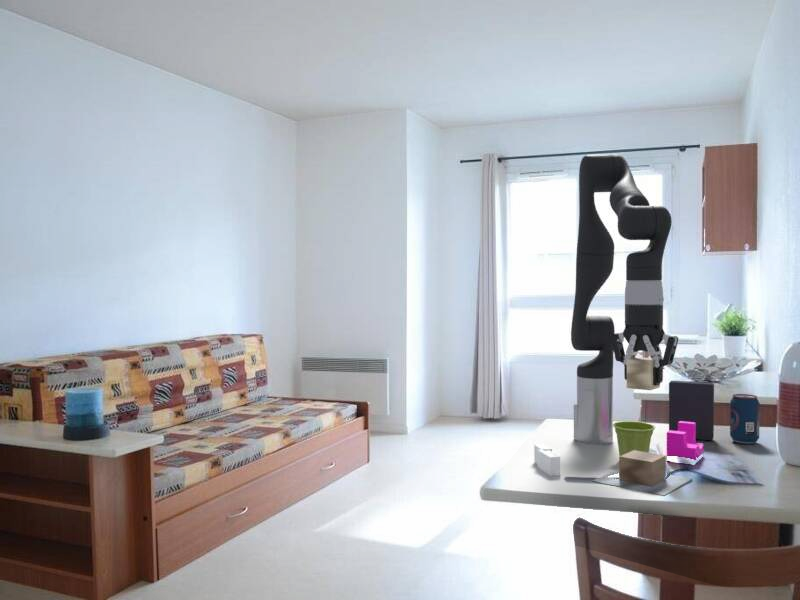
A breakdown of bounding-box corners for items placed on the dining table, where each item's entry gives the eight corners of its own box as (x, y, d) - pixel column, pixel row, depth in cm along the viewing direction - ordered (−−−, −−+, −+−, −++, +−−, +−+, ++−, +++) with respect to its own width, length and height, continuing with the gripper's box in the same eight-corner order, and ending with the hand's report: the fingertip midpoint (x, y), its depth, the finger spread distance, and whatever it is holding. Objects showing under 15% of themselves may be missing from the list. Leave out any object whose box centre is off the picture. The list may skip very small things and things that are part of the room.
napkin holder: (565, 485, 148) (565, 458, 148) (513, 479, 153) (513, 453, 153) (581, 468, 161) (581, 443, 161) (533, 462, 166) (533, 438, 166)
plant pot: (661, 461, 165) (661, 424, 165) (644, 469, 158) (644, 431, 158) (623, 454, 171) (623, 419, 171) (605, 462, 164) (605, 425, 164)
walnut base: (592, 485, 146) (592, 456, 146) (624, 470, 157) (624, 444, 157) (664, 500, 136) (664, 469, 136) (692, 483, 147) (692, 455, 147)
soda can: (726, 437, 188) (726, 393, 188) (753, 438, 188) (753, 393, 187) (735, 443, 181) (736, 397, 181) (763, 444, 181) (764, 398, 180)
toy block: (695, 468, 160) (695, 435, 160) (666, 464, 163) (666, 432, 163) (706, 453, 172) (706, 423, 172) (679, 450, 176) (679, 421, 176)
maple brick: (626, 387, 146) (626, 359, 146) (636, 385, 150) (636, 357, 149) (650, 390, 143) (650, 361, 142) (659, 387, 146) (660, 358, 146)
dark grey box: (713, 437, 188) (714, 382, 188) (712, 441, 185) (713, 384, 184) (670, 434, 193) (670, 379, 193) (668, 437, 190) (668, 382, 189)
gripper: (603, 302, 148) (603, 382, 148) (671, 303, 138) (670, 389, 138) (618, 301, 153) (618, 378, 154) (685, 302, 143) (684, 385, 144)
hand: (643, 383), depth 146 cm, fingers closed on maple brick, 5 cm apart
